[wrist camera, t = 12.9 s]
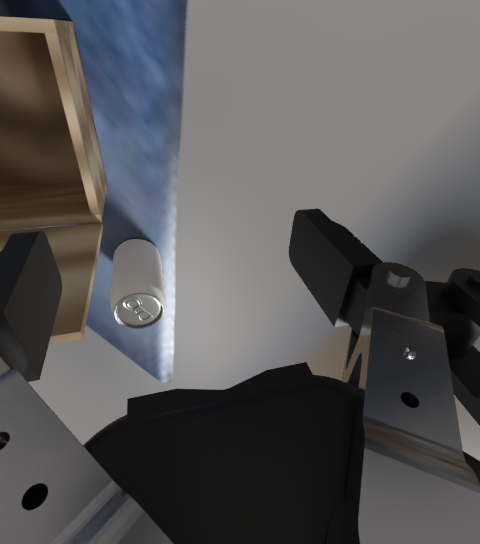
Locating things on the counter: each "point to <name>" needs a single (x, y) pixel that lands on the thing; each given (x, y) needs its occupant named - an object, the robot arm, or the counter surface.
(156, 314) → the can
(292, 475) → the robot arm
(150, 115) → the counter surface
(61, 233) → the wooden box lid
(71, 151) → the wooden box
